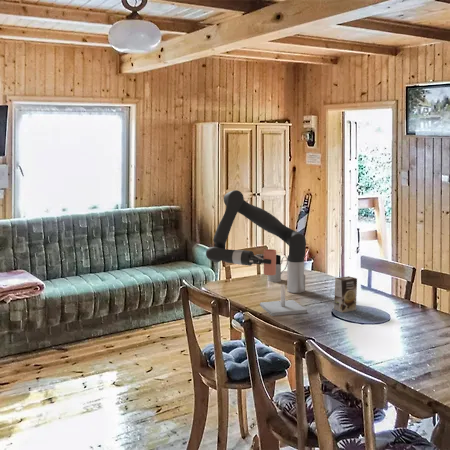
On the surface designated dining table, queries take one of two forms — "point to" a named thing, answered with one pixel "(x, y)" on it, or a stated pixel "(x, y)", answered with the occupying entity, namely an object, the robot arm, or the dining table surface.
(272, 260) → the sleeve
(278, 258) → the glass holder
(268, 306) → the post board
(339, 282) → the coffee box
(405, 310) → the dining table surface
